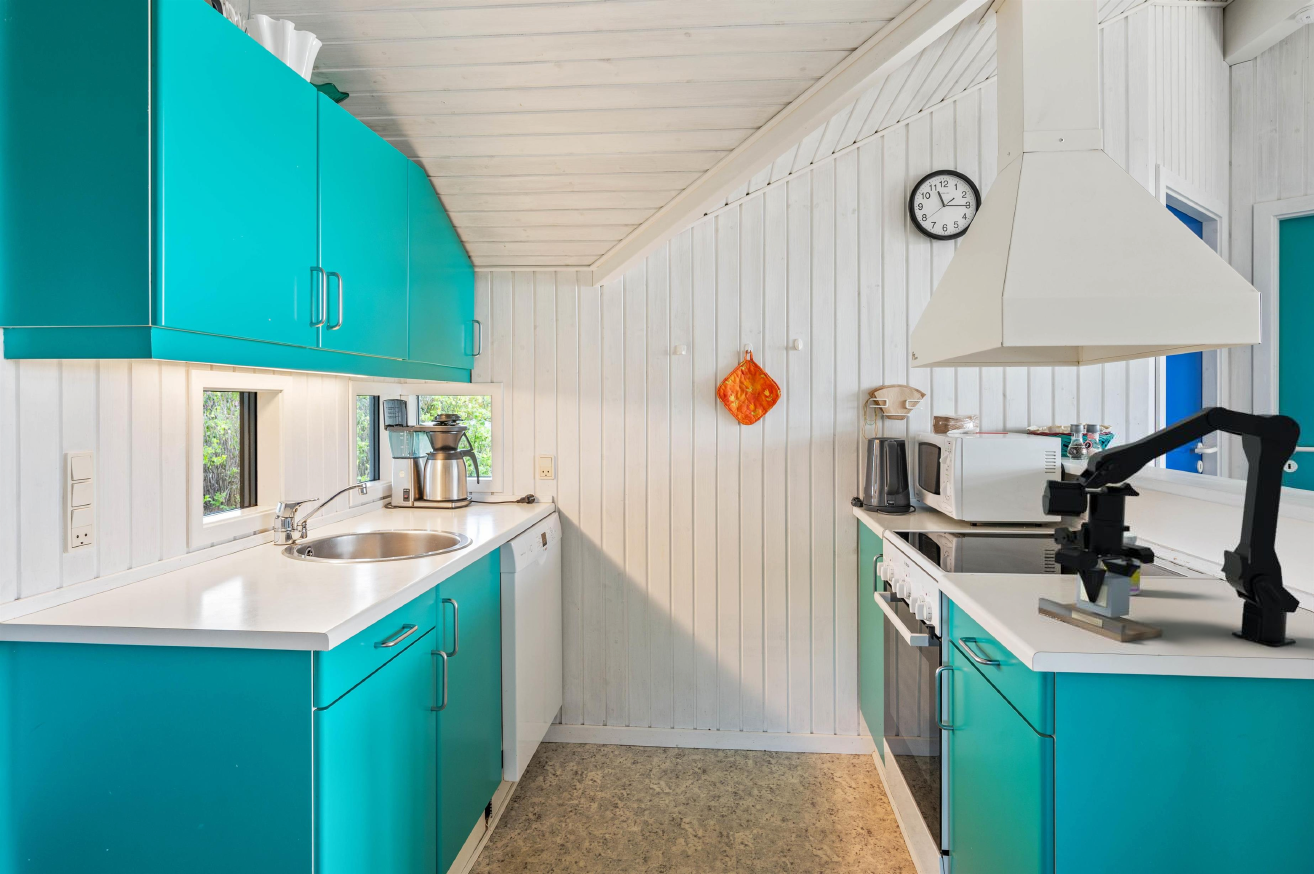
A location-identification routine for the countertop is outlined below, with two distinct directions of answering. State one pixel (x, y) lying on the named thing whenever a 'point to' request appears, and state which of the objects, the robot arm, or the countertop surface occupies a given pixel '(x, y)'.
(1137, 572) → the supplement bottle
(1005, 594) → the countertop surface
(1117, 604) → the carton
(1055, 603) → the shelf board
